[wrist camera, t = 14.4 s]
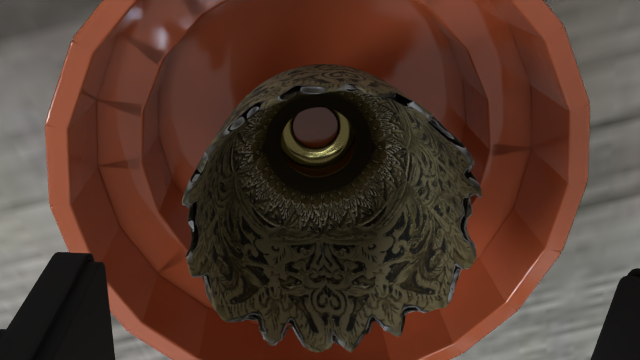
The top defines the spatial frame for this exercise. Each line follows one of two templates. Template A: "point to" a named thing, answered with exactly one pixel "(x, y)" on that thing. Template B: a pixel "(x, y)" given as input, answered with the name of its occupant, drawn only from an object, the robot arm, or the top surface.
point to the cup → (330, 210)
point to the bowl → (312, 131)
